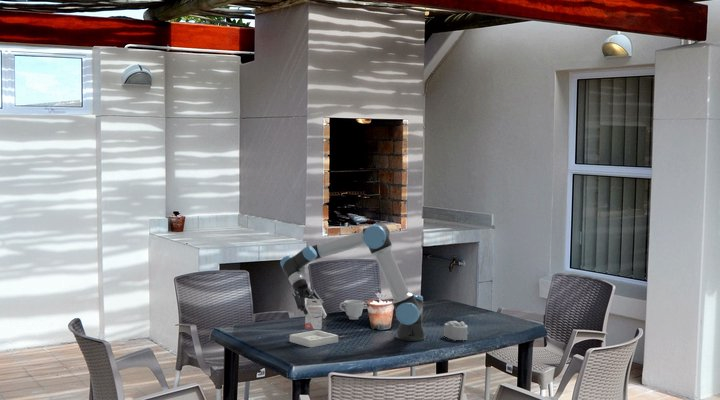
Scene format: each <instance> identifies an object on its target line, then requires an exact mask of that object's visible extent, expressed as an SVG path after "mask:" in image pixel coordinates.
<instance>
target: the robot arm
mask: <svg viewBox="0 0 720 400" xmlns="http://www.w3.org/2000/svg"><path fill="white" fill-rule="evenodd" d="M363 246H366V247H367V248H368V249H369V251H370V254H371V255H373V256H374V257H375V258H376V260H377V261H376V262H377V263H378V265H379V268H380V270H381V272H382V274H383V277H384V280H385V282H386V284H387V286H388V288H389V292H390V294H391V295H392V298H393V301H392V305H393V306H392V307H394V310H395V316H396V319H397V320H398V322H399V325H398V327H397V328H398V329H397V330H396V331H397V332H396V334H395V336H396V337H395V338H396V339H398V340H400V341H406V342H407V341H408V342H409V341H410V342H419V341H423V339H424V340H425V339H426V333H425V331H424V326H423V305H424V304H423V303H424V297H423V296H422V295H418V294H414V293H412V292H410V291H409V289H408V286H407V284H406V282H405V279H404V278H403V275H402V273H401V270H400V268H399V265H398V264H397V263H398V262H397V261H396V258H395V256H394V254H393V252H392V247H393V244H392V242H391V239H390V230H389V228H388V227H387V226H386V225H385V224H383V223H381V222H379V223H378V222H375V223H373V224H370V225H369V226H367V227H364V228H362V230H361V231H358V232H354V233H352V234H349V235H344V236H342V237H338V238H334V239H331V240H328V241H324V242H320V243H318V244H313V245H307V246H305V247H304V248H302V249H301V250H300V251H298V253H296V254H295V255H294V256H292V255H286V256H283V257H282V258H281V260H280V262H279V264H280V267H281V269H282V271H283V272H284V274H285V275H286V278H287V279H288V281H289V283H290V284H291V287H292V288H293V293H292V296H293V298H294V300H295V303H296V308H297V310H299V311H300V312H302V313H303V314H304V316H305V315H306V316H307V318H308V320H309V321H310V320H311V319H312V318H313V317H312V315H311V313H310V312H309V310H308V308H307V307H306V299H322V298H321V297H320V295H319V294H318V293H317V292H316V290H315V288H312V289H310V288H309V284H308V282H307V280H306V279H305V277H304V275H303V273H302V271H301V269H302V268H305V266H306V265H308V264H310V263H311V262H313V261H315V260H318V259H322V258H325V257H329V256H333V255H336V254H340V253H343V252H346V251H349V250H353V249H358V248H361V247H363ZM312 302H317V301H312ZM324 304H325V301H323V299H322V319H325V318H326V317H327V316H328V315H327V313H326V310H325V308H324V306H323V305H324Z"/></svg>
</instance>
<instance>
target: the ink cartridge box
mask: <svg viewBox="0 0 720 400" xmlns="http://www.w3.org/2000/svg"><path fill="white" fill-rule="evenodd" d="M322 300H323V299H322V298H321V299H308V298H306V303H305V308H306V307H307V308H308V310H309V312H310V313H311V315H312V317H313V318H312V319H311V320H310V321H309V320H308V318H307V316H306V315H305V314H304V316H305V318H304V319H305V320H304V329H305V330H322V324H323V317H322V306H323V305H322ZM312 301H317V302H312Z"/></svg>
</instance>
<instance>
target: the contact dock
mask: <svg viewBox="0 0 720 400" xmlns="http://www.w3.org/2000/svg"><path fill="white" fill-rule="evenodd" d="M289 342H291V343H293V344H297V345H300V346H305V347H307V348H315V347H319V346H320V347H321V346H325V345H331V344H336V343H339V335H338V334H334V333H330V332H325V331H323V330H320V329H314V330H310V331H304V332H299V333H292V334H289Z"/></svg>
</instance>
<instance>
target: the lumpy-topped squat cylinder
mask: <svg viewBox="0 0 720 400" xmlns="http://www.w3.org/2000/svg"><path fill="white" fill-rule="evenodd" d="M468 328H469V327H468V324H466V323H465V322H464V321H460V322H459V321H457V320H449V321H447V322H445V323H444V326H443V337H444V336H445V337H448V338H450V339H454V340H453V341H456V340H463V341H462V342H464V340H466V341H467V340H468ZM445 337H444V338H445ZM450 339H449V340H450Z"/></svg>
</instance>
